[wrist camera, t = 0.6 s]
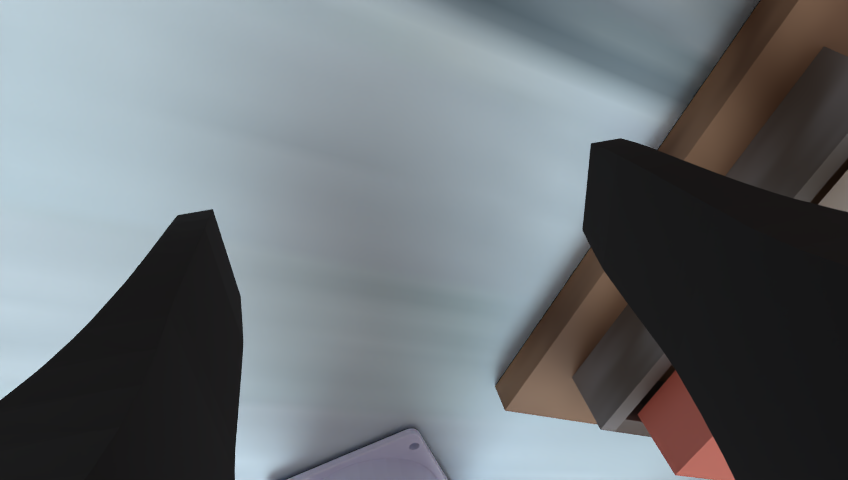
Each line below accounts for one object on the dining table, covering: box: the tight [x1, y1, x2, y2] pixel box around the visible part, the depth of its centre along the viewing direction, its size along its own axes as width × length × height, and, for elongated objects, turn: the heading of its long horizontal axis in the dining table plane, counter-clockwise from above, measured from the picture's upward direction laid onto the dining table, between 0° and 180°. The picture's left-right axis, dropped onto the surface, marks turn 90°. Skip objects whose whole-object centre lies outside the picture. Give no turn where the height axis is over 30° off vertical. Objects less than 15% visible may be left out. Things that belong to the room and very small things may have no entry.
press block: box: [495, 0, 848, 437], centre depth 26 cm, size 22×11×4 cm, turn 154°
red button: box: [638, 370, 735, 480], centre depth 25 cm, size 4×4×3 cm
